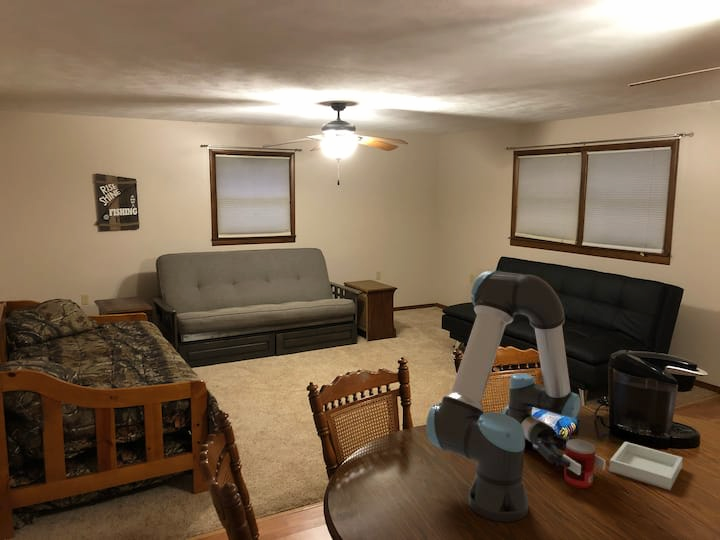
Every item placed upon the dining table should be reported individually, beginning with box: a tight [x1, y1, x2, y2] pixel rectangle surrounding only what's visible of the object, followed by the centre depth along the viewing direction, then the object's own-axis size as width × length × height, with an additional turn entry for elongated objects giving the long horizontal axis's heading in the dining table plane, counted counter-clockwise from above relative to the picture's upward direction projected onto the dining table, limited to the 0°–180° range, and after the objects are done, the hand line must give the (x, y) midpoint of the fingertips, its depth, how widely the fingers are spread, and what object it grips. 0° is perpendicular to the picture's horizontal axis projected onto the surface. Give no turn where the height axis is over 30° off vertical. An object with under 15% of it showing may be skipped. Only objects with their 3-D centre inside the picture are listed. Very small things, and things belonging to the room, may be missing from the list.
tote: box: [608, 441, 684, 491], centre depth 162 cm, size 16×16×4 cm
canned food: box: [563, 438, 596, 489], centre depth 155 cm, size 8×8×11 cm
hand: (592, 467), depth 150 cm, fingers closed on canned food, 8 cm apart
